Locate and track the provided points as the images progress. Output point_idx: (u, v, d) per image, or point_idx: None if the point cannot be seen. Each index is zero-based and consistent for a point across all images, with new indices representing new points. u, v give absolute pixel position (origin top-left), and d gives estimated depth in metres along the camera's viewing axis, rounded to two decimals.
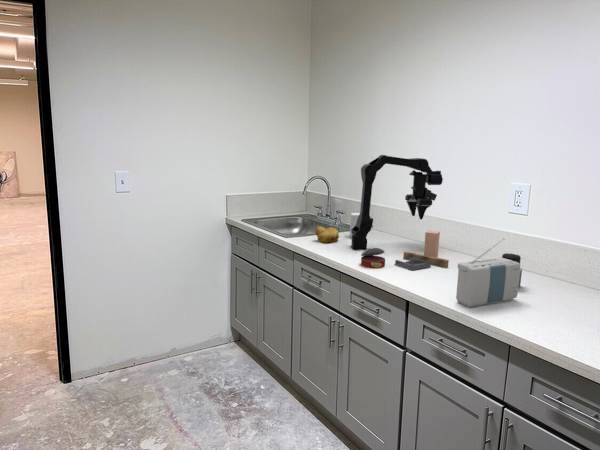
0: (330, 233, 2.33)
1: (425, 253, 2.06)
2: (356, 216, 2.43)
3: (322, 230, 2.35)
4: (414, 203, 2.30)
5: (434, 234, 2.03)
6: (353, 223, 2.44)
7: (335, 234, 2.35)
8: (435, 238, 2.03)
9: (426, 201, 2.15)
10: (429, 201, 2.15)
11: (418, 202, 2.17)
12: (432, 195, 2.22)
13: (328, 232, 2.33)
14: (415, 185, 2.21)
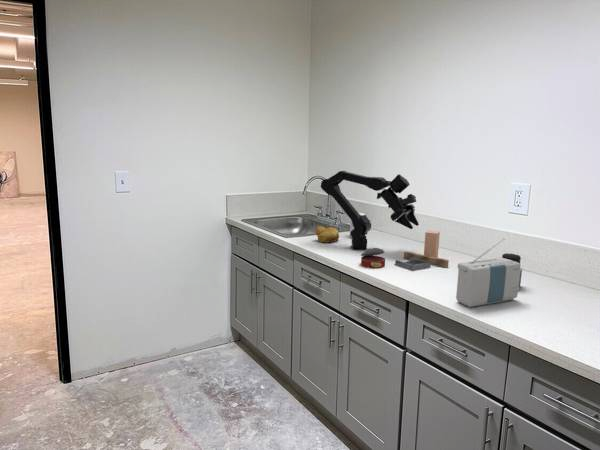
0: (330, 233, 2.33)
1: (425, 253, 2.06)
2: None
3: (322, 230, 2.35)
4: (410, 214, 2.15)
5: (434, 234, 2.03)
6: None
7: (335, 234, 2.35)
8: (435, 238, 2.03)
9: (395, 213, 2.03)
10: (397, 211, 2.02)
11: None
12: (407, 200, 2.07)
13: (328, 232, 2.33)
14: None
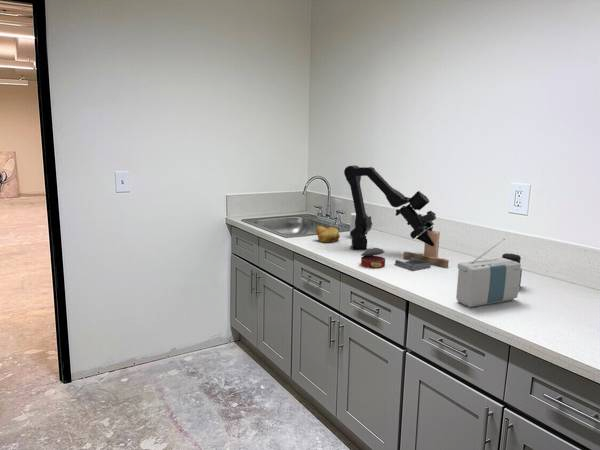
0: (330, 233, 2.34)
1: (425, 253, 2.06)
2: None
3: (322, 230, 2.35)
4: None
5: (434, 234, 2.03)
6: (353, 223, 2.44)
7: (335, 234, 2.35)
8: (435, 238, 2.03)
9: (415, 231, 2.00)
10: (418, 229, 1.99)
11: None
12: (427, 217, 2.04)
13: (328, 232, 2.34)
14: (406, 220, 2.09)
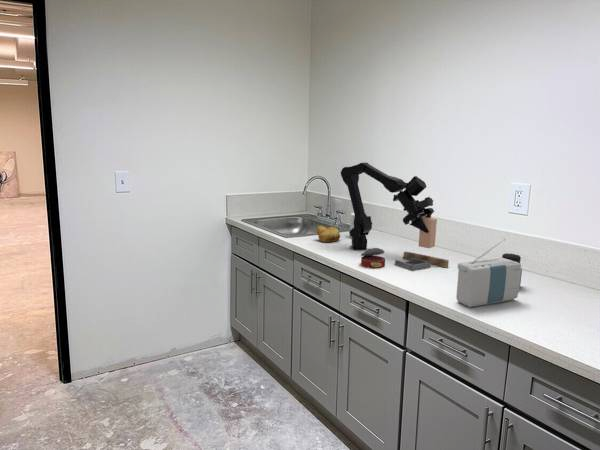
0: (331, 233, 2.34)
1: (420, 240, 2.00)
2: None
3: (323, 230, 2.36)
4: None
5: (429, 221, 1.96)
6: (353, 223, 2.44)
7: (336, 234, 2.36)
8: (430, 225, 1.96)
9: (407, 217, 1.95)
10: (409, 215, 1.94)
11: None
12: (422, 203, 1.97)
13: (329, 232, 2.34)
14: (403, 206, 2.04)
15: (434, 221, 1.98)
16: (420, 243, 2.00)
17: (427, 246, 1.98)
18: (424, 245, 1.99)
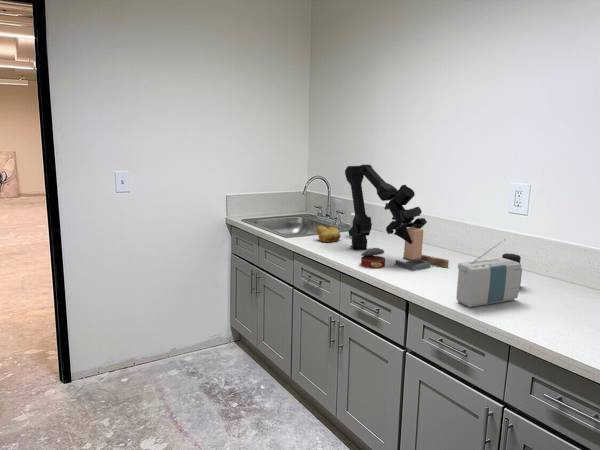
0: (331, 233, 2.34)
1: (405, 251, 1.95)
2: None
3: (323, 229, 2.36)
4: None
5: (412, 231, 1.90)
6: None
7: (336, 234, 2.36)
8: (413, 235, 1.90)
9: (389, 226, 1.92)
10: (391, 224, 1.91)
11: None
12: (407, 213, 1.92)
13: (329, 231, 2.34)
14: None
15: (419, 232, 1.91)
16: (405, 254, 1.95)
17: (411, 257, 1.92)
18: (408, 256, 1.93)
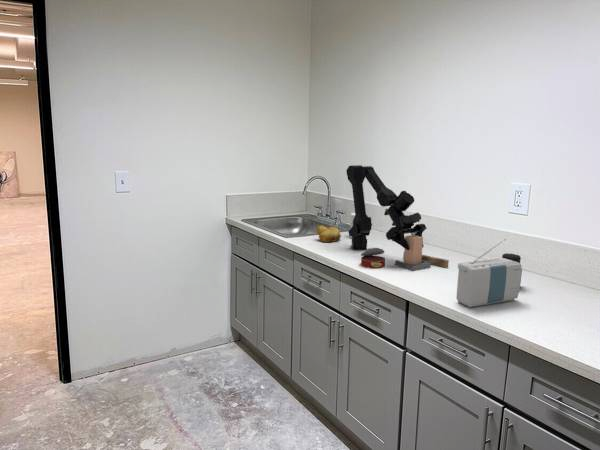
0: (331, 232, 2.34)
1: (405, 258, 1.95)
2: None
3: (323, 229, 2.37)
4: (416, 234, 1.98)
5: (412, 239, 1.91)
6: None
7: (336, 234, 2.36)
8: (413, 243, 1.91)
9: (388, 232, 1.92)
10: (390, 230, 1.91)
11: None
12: (407, 219, 1.92)
13: (329, 231, 2.35)
14: None
15: (419, 240, 1.91)
16: (405, 261, 1.95)
17: None
18: None
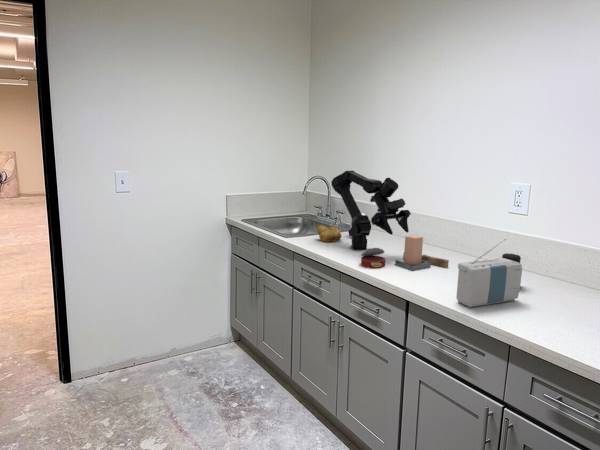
0: (331, 232, 2.35)
1: (405, 258, 1.95)
2: None
3: (324, 229, 2.37)
4: (402, 220, 2.05)
5: (412, 239, 1.91)
6: None
7: (336, 233, 2.36)
8: (413, 243, 1.91)
9: (373, 217, 1.99)
10: (375, 215, 1.98)
11: None
12: (391, 204, 1.99)
13: (329, 231, 2.35)
14: None
15: (419, 240, 1.91)
16: (405, 261, 1.95)
17: None
18: None
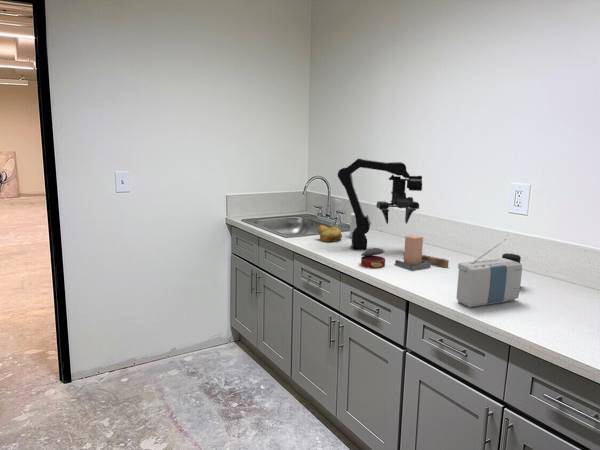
0: (331, 232, 2.35)
1: (405, 258, 1.95)
2: None
3: (324, 229, 2.37)
4: (408, 210, 2.18)
5: (412, 239, 1.91)
6: (353, 223, 2.44)
7: (337, 233, 2.37)
8: (413, 243, 1.91)
9: (378, 204, 2.15)
10: (379, 204, 2.14)
11: None
12: (397, 202, 2.11)
13: (329, 231, 2.35)
14: None
15: (419, 240, 1.91)
16: (405, 261, 1.95)
17: None
18: None
